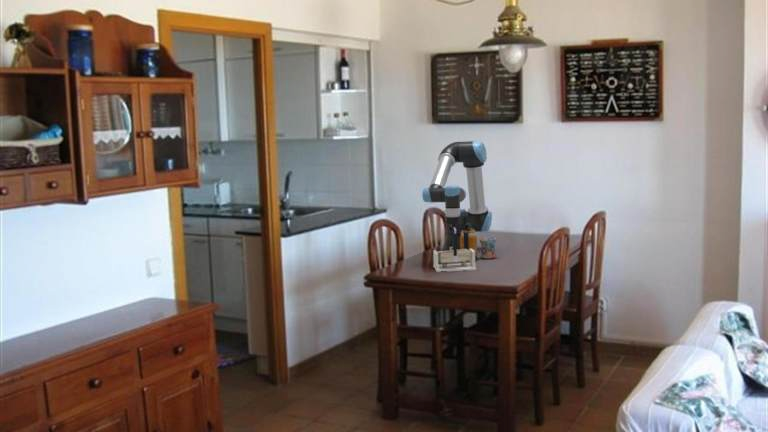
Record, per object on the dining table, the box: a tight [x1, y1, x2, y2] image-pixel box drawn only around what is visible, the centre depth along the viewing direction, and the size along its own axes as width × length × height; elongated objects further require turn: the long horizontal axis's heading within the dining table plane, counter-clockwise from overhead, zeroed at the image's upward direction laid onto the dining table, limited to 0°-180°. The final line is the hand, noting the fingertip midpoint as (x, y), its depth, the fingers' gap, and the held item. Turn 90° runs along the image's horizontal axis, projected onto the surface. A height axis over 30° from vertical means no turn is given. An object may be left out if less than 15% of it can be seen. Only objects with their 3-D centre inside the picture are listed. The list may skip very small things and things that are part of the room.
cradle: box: [432, 249, 477, 273], centre depth 408 cm, size 14×20×9 cm
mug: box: [479, 237, 497, 260], centre depth 434 cm, size 12×9×11 cm
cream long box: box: [437, 249, 471, 264], centre depth 408 cm, size 6×16×5 cm, turn 106°
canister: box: [460, 223, 478, 262], centre depth 429 cm, size 9×11×20 cm
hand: (453, 260), depth 408 cm, fingers closed on cream long box, 7 cm apart
